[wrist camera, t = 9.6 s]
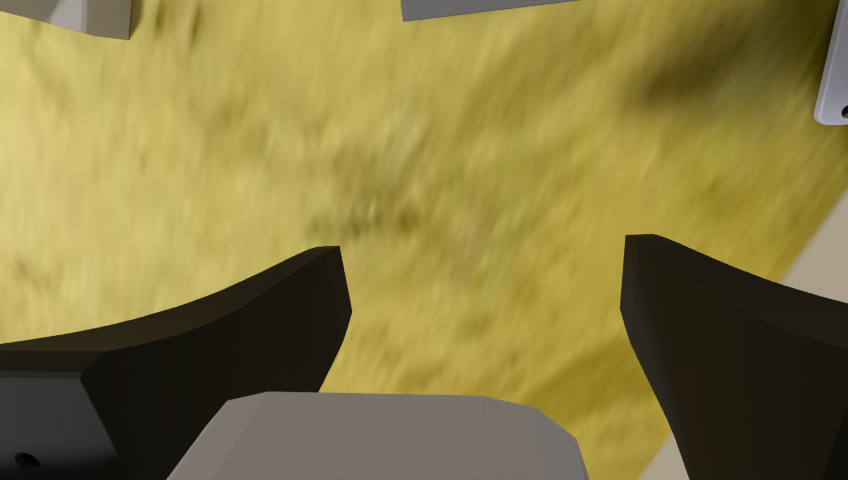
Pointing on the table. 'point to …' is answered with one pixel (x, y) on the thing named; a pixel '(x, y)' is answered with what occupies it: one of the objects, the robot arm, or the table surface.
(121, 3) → the hinge
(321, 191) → the table surface
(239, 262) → the table surface
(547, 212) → the table surface
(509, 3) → the mat
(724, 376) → the robot arm
